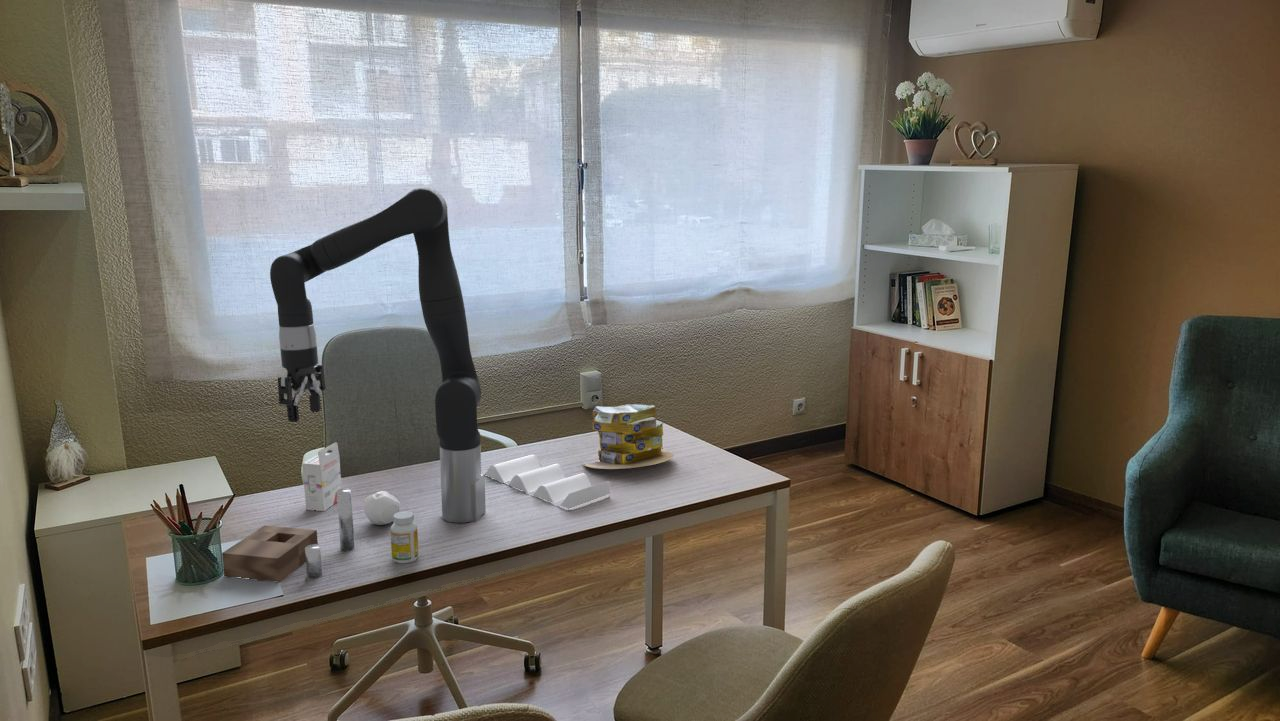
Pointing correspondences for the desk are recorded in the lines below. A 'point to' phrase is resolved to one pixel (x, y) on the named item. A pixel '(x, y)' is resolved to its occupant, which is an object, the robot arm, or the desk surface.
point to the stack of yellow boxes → (628, 437)
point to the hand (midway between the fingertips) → (305, 416)
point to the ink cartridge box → (322, 479)
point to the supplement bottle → (404, 538)
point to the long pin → (345, 519)
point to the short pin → (313, 561)
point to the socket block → (268, 553)
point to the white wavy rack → (548, 481)
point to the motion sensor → (381, 507)
